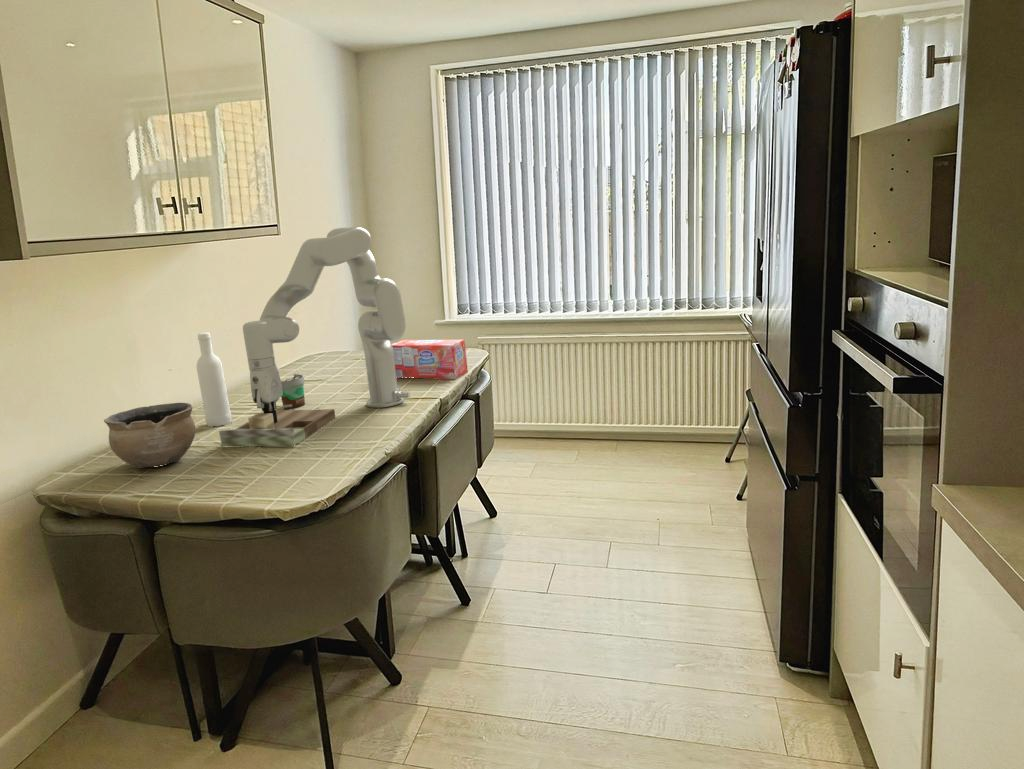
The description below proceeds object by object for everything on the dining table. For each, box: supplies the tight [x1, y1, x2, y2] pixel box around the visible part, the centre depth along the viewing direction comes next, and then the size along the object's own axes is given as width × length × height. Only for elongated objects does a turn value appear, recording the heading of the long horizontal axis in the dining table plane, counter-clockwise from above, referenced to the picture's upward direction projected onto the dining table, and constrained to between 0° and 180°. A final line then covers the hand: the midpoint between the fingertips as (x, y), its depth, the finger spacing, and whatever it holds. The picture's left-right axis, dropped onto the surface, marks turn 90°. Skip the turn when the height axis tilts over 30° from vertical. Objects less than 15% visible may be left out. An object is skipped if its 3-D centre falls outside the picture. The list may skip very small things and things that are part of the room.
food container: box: [280, 373, 306, 411], centre depth 261 cm, size 12×6×10 cm, turn 168°
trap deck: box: [219, 408, 336, 448], centre depth 230 cm, size 23×28×5 cm
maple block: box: [247, 413, 275, 429], centre depth 220 cm, size 5×5×5 cm
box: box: [391, 339, 469, 380], centre depth 291 cm, size 27×13×14 cm, turn 70°
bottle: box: [196, 331, 233, 427], centre depth 243 cm, size 8×8×30 cm
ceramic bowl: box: [103, 402, 196, 468], centre depth 208 cm, size 22×22×15 cm
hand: (271, 423), depth 225 cm, fingers closed
